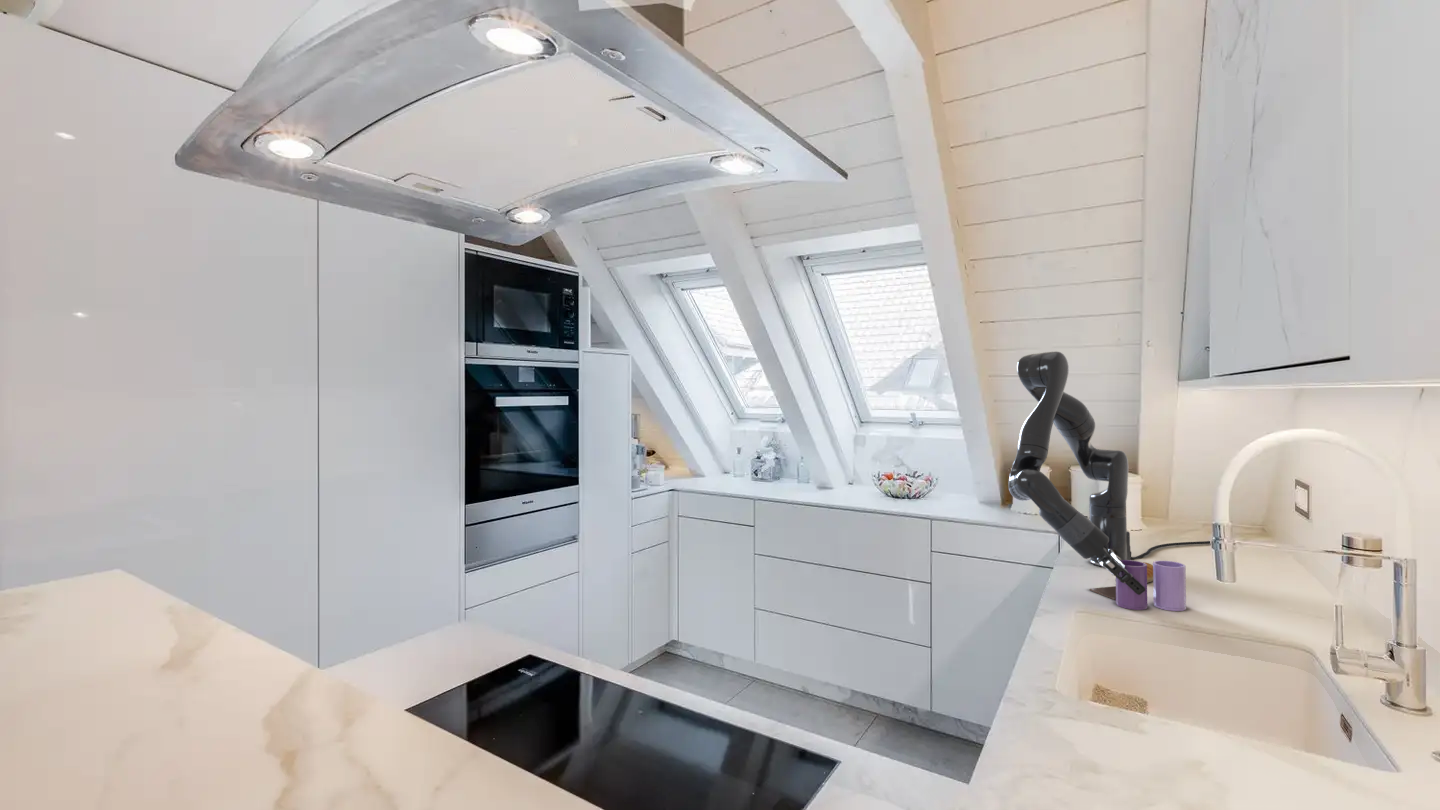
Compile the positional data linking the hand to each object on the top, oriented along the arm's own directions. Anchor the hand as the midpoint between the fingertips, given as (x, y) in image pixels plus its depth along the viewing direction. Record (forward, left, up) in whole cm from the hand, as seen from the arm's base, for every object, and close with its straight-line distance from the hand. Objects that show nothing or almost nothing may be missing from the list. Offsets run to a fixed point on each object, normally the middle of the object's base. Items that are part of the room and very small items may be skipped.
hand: (1139, 587), depth 152 cm
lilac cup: (-6, +2, -4) cm, 8 cm away
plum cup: (+1, -1, -4) cm, 5 cm away
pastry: (-19, -18, -5) cm, 26 cm away
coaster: (-2, -9, -4) cm, 11 cm away
